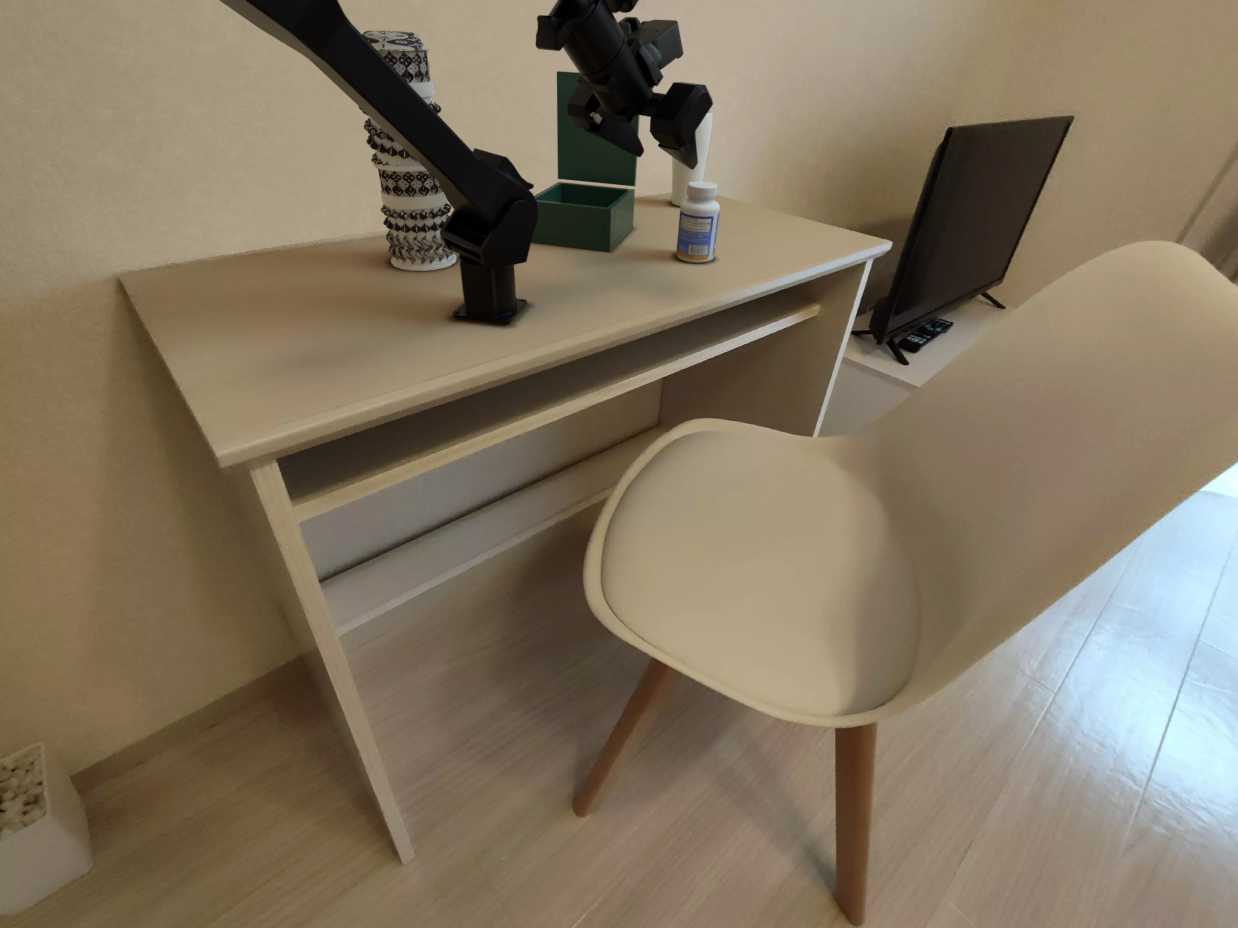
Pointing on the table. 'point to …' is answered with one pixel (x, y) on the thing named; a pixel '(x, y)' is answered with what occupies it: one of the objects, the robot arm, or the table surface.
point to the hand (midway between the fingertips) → (667, 160)
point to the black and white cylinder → (408, 168)
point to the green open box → (584, 216)
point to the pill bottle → (698, 223)
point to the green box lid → (588, 146)
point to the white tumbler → (686, 175)
